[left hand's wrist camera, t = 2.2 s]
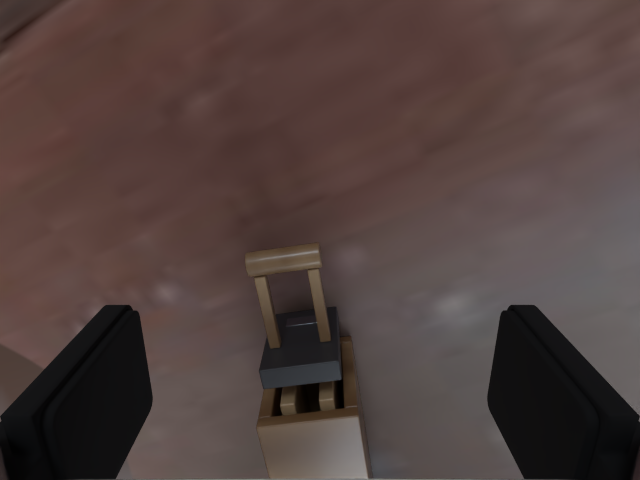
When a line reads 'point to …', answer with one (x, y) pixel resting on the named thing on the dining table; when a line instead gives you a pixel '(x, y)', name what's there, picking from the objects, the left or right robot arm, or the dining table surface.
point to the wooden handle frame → (298, 334)
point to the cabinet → (317, 433)
